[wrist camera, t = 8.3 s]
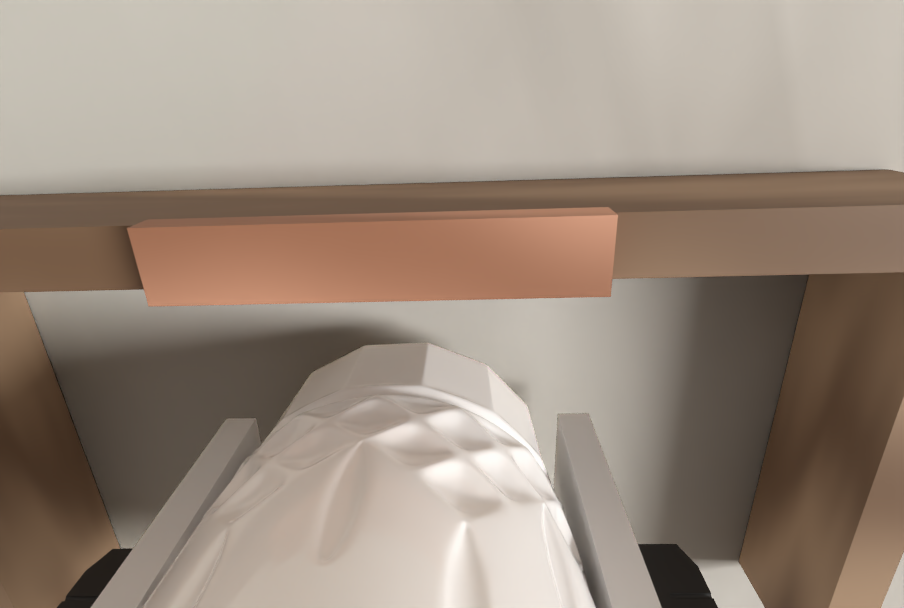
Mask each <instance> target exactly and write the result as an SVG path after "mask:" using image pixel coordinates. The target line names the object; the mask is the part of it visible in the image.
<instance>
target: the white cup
mask: <svg viewBox="0 0 904 608" xmlns="http://www.w3.org/2000/svg"><path fill="white" fill-rule="evenodd" d="M142 608H596V606H595V604H594V601H593V599H592V596H591V594H590V591H589V587H588V583H587V579H586V575H585V571H584V567H583V563H582V560H581V558H580V555H579V552H578V549H577V546H576V543H575V540H574V538H573V535H572V532H571V530H570V527H569V525H568V521H567V518H566V514H565V510H564V506H563V504H562V502H561V501H560V499H559V498H558V496H557V495H556V493H555V491H554V489H553V488H552V485H551V482H550V479H549V476H548V473H547V471H546V468H545V466H544V463H543V459H542V456H541V452H540V449H539V445H538V441H537V438H536V434H535V431H534V427H533V424H532V420H531V416H530V413H529V409H528V407H527V405H526V404H525V403H524V402H523V401H522V400H521V399H520V398H519V397H518V396H517V395H516V394H515V393H514V392H513V391H512V390H511V389H510V388H509V386H508V385H507V384H506V383H505V382H504V381H503V380H502V379H501V378H500V377H499V376H498V375H497V374H496V373H495V372H494V371H493V370H492V369H491V368H490V367H489V366H488V365H486V364H484V363H482V362H479V361H476V360H474V359H471V358H468V357H466V356H463V355H460V354H458V353H455V352H452V351H450V350H447V349H444V348H442V347H439V346H436V345H434V344H431V343H405V344H382V345H365V346H362V347H360V348H358V349H356V350H355V351H353V352H351V353H349V354H347V355H345V356H343V357H341V358H339V359H337V360H335V361H333V362H331V363H329V364H327V365H325V366H323V367H321V368H319V369H317V370H315V371H313V372H312V373H311V374H310V375H309V377H308V378H307V380H306V381H305V383H304V384H303V386H302V387H301V388H300V390H299V391H298V393H297V394H296V396H295V397H294V399H293V400H292V402H291V403H290V404H289V406H288V407H287V409H286V410H285V412H284V413H283V415H282V416H281V418H280V419H279V421H278V422H277V424H276V425H275V427H274V428H273V430H272V432H271V433H270V434H269V435H268V436H267V438H266V439H265V440H264V442H263V443H262V445H261V446H260V447H259V448H258V449H257V450H255V451H254V452H253V453H252V454H251V455H249V456H248V457H247V458H246V459H245V460H244V461H243V463H242V464H241V466H240V467H239V469H238V471H237V472H236V474H235V475H234V477H233V479H232V480H231V482H230V483H229V484H228V485H227V487H226V488H225V489H224V490H223V492H222V493H221V494H220V496H219V497H218V498H217V499H216V501H215V502H214V503H213V505H212V506H211V507H210V508H209V509H208V511H207V512H206V513H205V514H204V516H203V518H202V520H201V521H200V523H199V524H198V526H197V527H196V529H195V530H194V532H193V533H192V535H191V536H190V538H189V539H188V541H187V542H186V544H185V545H184V547H183V548H182V550H181V551H180V553H179V554H178V556H177V557H176V558H175V560H174V561H173V563H172V564H171V566H170V567H169V569H168V570H167V572H166V573H165V575H164V576H163V578H162V579H161V581H160V582H159V584H158V585H157V587H156V588H155V589H154V591H153V592H152V594H151V595H150V597H149V598H148V600H147V601H146V603H145V604H144V606H143V607H142Z"/></svg>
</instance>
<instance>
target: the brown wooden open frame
mask: <svg viewBox="0 0 904 608" xmlns="http://www.w3.org/2000/svg"><path fill="white" fill-rule="evenodd" d="M804 274H809V278H808V282H807V286H806V290H805V294H804V298H803V302H802V306H801V310H800V314H799V318H798V322H797V326H796V330H795V334H794V339H793V343H792V347H791V351H790V355H789V359H788V363H787V367H786V371H785V375H784V379H783V383H782V387H781V391H780V396H779V400H778V404H777V408H776V412H775V416H774V420H773V424H772V428H771V432H770V436H769V440H768V444H767V448H766V453H765V457H764V461H763V465H762V469H761V473H760V477H759V481H758V485H757V489H756V493H755V497H754V501H753V505H752V509H751V514H750V518H749V522H748V526H747V530H746V534H745V538H744V542H743V546H742V550H741V554H740V558H739V563H740V565H741V567H742V568H743V570H744V572H745V574H746V575H747V577H748V579H749V580H750V582H751V584H752V586H753V587H754V589H755V591H756V593H757V594H758V596H759V598H760V600H761V601H762V603H763V605H764V607H765V608H881V606H882V603H883V601H884V598H885V596H886V594H887V591H888V589H889V586H890V584H891V581H892V579H893V576H894V574H895V572H896V569H897V567H898V564H899V562H900V559H901V557H902V554H903V552H904V173H903V172H898V171H893V170H860V171H826V172H791V173H757V174H723V175H689V176H654V177H620V178H586V179H551V180H517V181H483V182H449V183H414V184H380V185H346V186H311V187H277V188H243V189H209V190H174V191H140V192H106V193H71V194H37V195H3V196H0V608H57V607H58V605H59V604H60V603H61V602H62V601H65V599H66V595H67V594H68V593H69V591H70V590H71V589H72V588H73V586H74V585H75V584H76V582H77V581H78V580H79V579H80V577H81V576H82V575H83V573H84V572H85V571H86V570H87V569H88V568H90V567H91V566H92V565H93V564H95V563H96V562H97V561H98V560H100V559H101V558H102V557H103V556H104V555H106V554H107V553H108V552H109V551H111V550H112V549H120V547H119V544H118V541H117V539H116V536H115V533H114V531H113V528H112V525H111V523H110V520H109V517H108V515H107V512H106V509H105V507H104V504H103V501H102V499H101V496H100V493H99V491H98V488H97V485H96V483H95V480H94V477H93V475H92V472H91V469H90V467H89V464H88V461H87V459H86V456H85V454H84V451H83V448H82V446H81V443H80V440H79V438H78V435H77V432H76V430H75V427H74V424H73V422H72V419H71V416H70V414H69V411H68V408H67V406H66V403H65V400H64V398H63V395H62V392H61V390H60V387H59V384H58V382H57V379H56V376H55V374H54V371H53V369H52V366H51V363H50V361H49V358H48V355H47V353H46V350H45V347H44V345H43V342H42V339H41V337H40V334H39V331H38V329H37V326H36V323H35V321H34V318H33V315H32V313H31V310H30V307H29V305H28V302H27V299H26V297H25V294H24V292H44V291H89V290H133V289H144V291H145V295H146V298H147V302H148V306H193V305H241V304H288V303H335V302H382V301H430V300H477V299H524V298H571V297H611V286H612V279H625V278H670V277H715V276H759V275H804Z"/></svg>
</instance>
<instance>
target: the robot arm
mask: <svg viewBox="0 0 904 608" xmlns="http://www.w3.org/2000/svg"><path fill="white" fill-rule="evenodd" d="M261 445H262V444H261V439H260V434H259V430H258V425H257V420H256V418H227V419H226V420H225V421H224V423H223V424H222V425H221V427H220V428H219V430H218V431H217V432H216V434H215V435H214V437H213V438H212V439H211V441H210V442H209V444H208V445H207V446H206V448H205V449H204V451H203V452H202V453H201V455H200V456H199V457H198V459H197V460H196V462H195V463H194V464H193V466H192V467H191V469H190V470H189V471H188V473H187V474H186V476H185V477H184V478H183V480H182V481H181V483H180V484H179V485H178V487H177V488H176V489H175V491H174V492H173V494H172V495H171V496H170V498H169V499H168V501H167V502H166V503H165V505H164V506H163V508H162V509H161V510H160V512H159V513H158V515H157V516H156V517H155V519H154V520H153V521H152V523H151V524H150V526H149V527H148V528H147V530H146V531H145V533H144V534H143V535H142V537H141V538H140V540H139V541H138V542H137V544H136V545H135V547H134V548H133V549H112V550H111V551H109V552H108V553H107V554H106V555H104V556H103V557H102V558H101V559H100V560H98V561H97V562H96V563H95V564H93V565H92V566H91V567H90V568H88V569H87V570H86V571H85V572H84V573H83V575H82V576H81V577H80V579H79V580H78V581H77V582H76V584H75V585H74V586H73V588H72V589H71V590H70V591H69V593H68V594H67V595H66V599H65V601H62V602H61V603H60V604H59V605H58V607H57V608H142V607H143V606H144V604H145V603H146V601H147V600H148V598H149V597H150V595H151V594H152V592H153V591H154V589H155V588H156V587H157V585H158V584H159V582H160V581H161V579H162V578H163V576H164V575H165V573H166V572H167V570H168V569H169V567H170V566H171V564H172V563H173V561H174V560H175V558H176V557H177V556H178V554H179V553H180V551H181V550H182V548H183V547H184V545H185V544H186V542H187V541H188V539H189V538H190V536H191V535H192V533H193V532H194V530H195V529H196V527H197V526H198V524H199V523H200V521H201V520H202V518H203V516H204V514H205V513H206V512H207V511H208V509H209V508H210V507H211V506H212V505H213V503H214V502H215V501H216V499H217V498H218V497H219V496H220V494H221V493H222V492H223V490H224V489H225V488H226V487H227V485H228V484H229V483H230V482H231V480H232V479H233V477H234V475H235V474H236V472H237V471H238V469H239V467H240V466H241V464H242V463H243V461H244V460H245V459H246V458H247V457H248V456H249V455H251V454H252V453H253V452H254V451H255V450H257V449H258V448H259V447H260V446H261ZM554 491H555V493H556V495H557V496H558V498H559V499H560V501H561V502H562V504H563V506H564V510H565V514H566V518H567V521H568V525H569V527H570V530H571V532H572V535H573V538H574V540H575V543H576V546H577V549H578V552H579V555H580V558H581V560H582V563H583V567H584V571H585V575H586V579H587V583H588V587H589V591H590V594H591V596H592V599H593V601H594V604H595V606H596V608H718V607H717V605H716V603H715V601H714V599H712V597H711V592H710V590H709V588H708V586H707V584H706V582H705V580H704V578H703V576H702V574H701V572H700V570H699V568H698V566H697V565H696V564H695V563H694V562H693V561H692V560H691V559H690V558H689V557H688V556H687V555H686V554H685V553H684V552H683V551H682V550H681V549H680V547H679V546H678V545H677V544H638V543H637V541H636V538H635V535H634V533H633V530H632V527H631V525H630V522H629V519H628V517H627V514H626V512H625V509H624V506H623V504H622V501H621V498H620V496H619V493H618V490H617V488H616V485H615V482H614V480H613V477H612V474H611V472H610V469H609V466H608V464H607V461H606V458H605V456H604V453H603V451H602V448H601V445H600V443H599V440H598V437H597V435H596V432H595V429H594V427H593V424H592V421H591V419H590V416H589V413H582V414H558V417H557V436H556V454H555V473H554Z"/></svg>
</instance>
